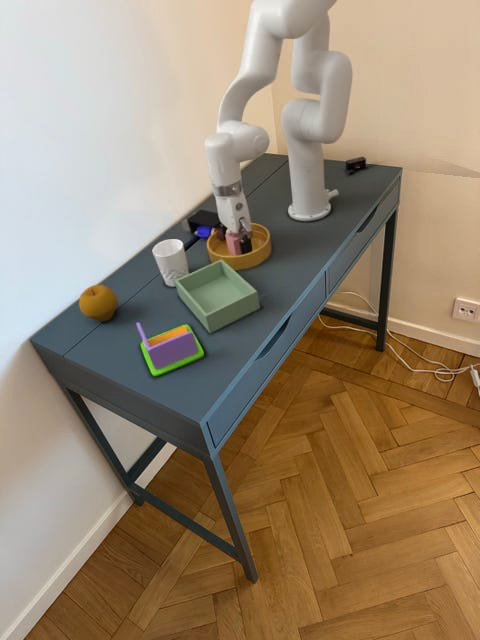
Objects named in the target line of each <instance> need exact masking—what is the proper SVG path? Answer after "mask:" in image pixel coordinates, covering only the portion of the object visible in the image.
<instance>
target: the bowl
mask: <svg viewBox="0 0 480 640" xmlns="http://www.w3.org/2000/svg"><path fill="white" fill-rule="evenodd" d="M251 229H252V239H251V243H252V252H250V253H247V254H244V255H238V256H233V255H232V254H231V253H229V251H228V246H227V241H220V240H219V239H217V233H218V231H215V232H214V233H213V234H212V235H211V236H210V237H208V239H207V240H206V250H207V253H208V257H209V260H210V264H212V263H214V262H217V261H219V260H221V259H222V260H223V261H224V262H225V263H226V264H228V265H229V266H230V267H231V268H232V269H233V270H234V271H240V270H241V271H242V270H247V269H250V268H253V267H256V266H258V265H260V264H262V263H263V262H264V261H265V260H267V259H268V258H269V257H270V255H271V253H272V247H273V246H272V240H271V239H272V238H271V232H270V231H269V229H268V228H267V227H266V226H265V225H263V224H259V223H257V222H256V223H255V222H251Z"/></svg>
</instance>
